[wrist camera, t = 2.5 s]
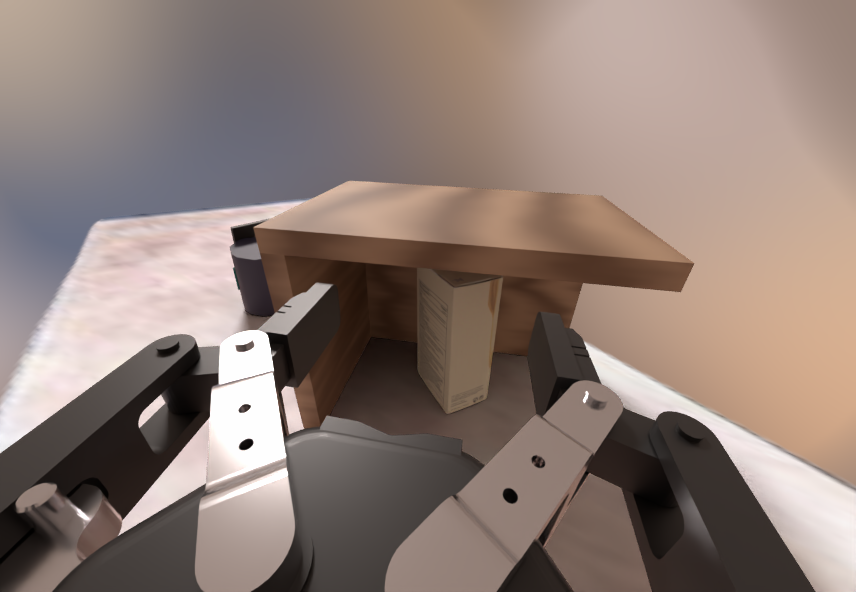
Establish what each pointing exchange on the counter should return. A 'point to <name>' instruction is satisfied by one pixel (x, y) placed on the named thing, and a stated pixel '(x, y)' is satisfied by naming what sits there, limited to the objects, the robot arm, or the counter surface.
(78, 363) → the counter surface
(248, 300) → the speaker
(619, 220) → the walnut shelf
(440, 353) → the skincare box
